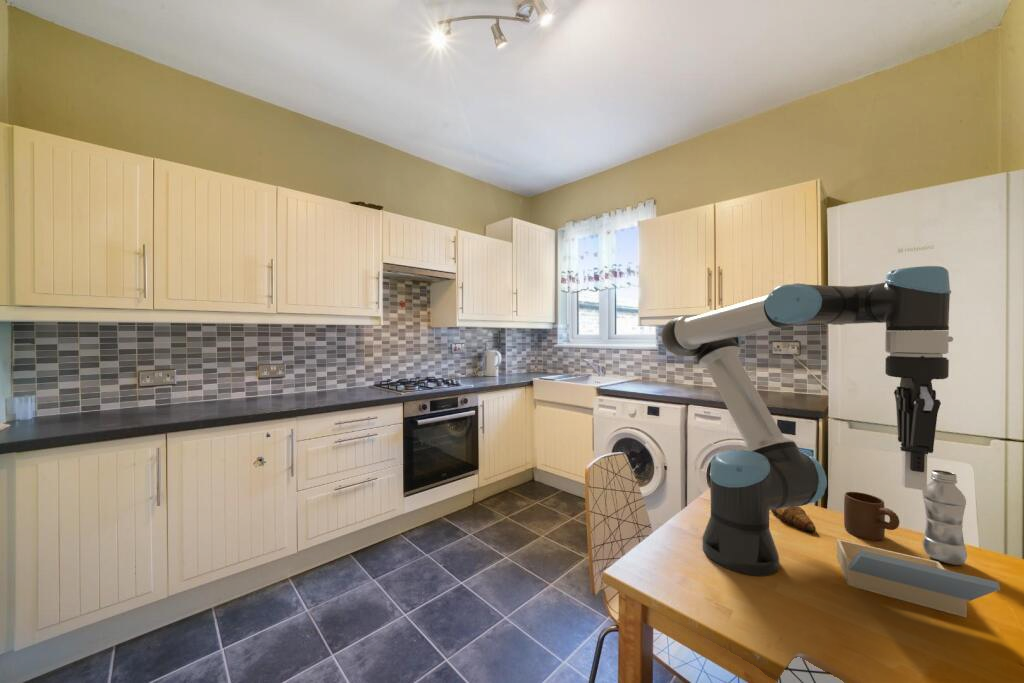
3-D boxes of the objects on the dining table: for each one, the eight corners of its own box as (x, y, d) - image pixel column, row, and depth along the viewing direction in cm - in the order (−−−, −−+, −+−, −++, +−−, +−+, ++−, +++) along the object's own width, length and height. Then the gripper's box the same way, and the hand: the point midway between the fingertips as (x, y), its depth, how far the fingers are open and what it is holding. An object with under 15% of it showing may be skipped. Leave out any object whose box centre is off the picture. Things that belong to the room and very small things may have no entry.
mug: (913, 551, 87) (913, 512, 86) (882, 552, 86) (882, 512, 86) (863, 525, 99) (863, 491, 98) (836, 526, 98) (836, 491, 98)
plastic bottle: (977, 570, 79) (977, 479, 79) (940, 567, 80) (940, 477, 80) (947, 553, 86) (947, 468, 86) (913, 550, 87) (913, 466, 87)
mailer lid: (848, 564, 74) (849, 569, 74) (860, 550, 66) (861, 556, 66) (968, 594, 65) (970, 600, 65) (998, 582, 58) (1000, 589, 57)
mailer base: (848, 585, 75) (848, 565, 75) (836, 556, 85) (836, 538, 85) (966, 617, 66) (966, 595, 66) (938, 580, 76) (938, 561, 76)
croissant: (826, 533, 95) (826, 514, 95) (802, 535, 94) (802, 516, 94) (782, 509, 108) (782, 492, 108) (761, 511, 108) (761, 494, 108)
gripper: (965, 357, 57) (963, 507, 58) (932, 354, 68) (930, 480, 68) (897, 356, 61) (895, 495, 62) (876, 353, 72) (875, 471, 73)
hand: (914, 487), depth 65 cm, fingers closed
